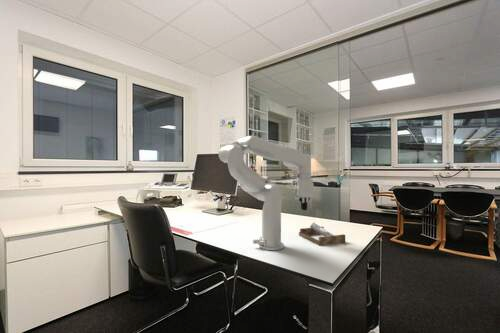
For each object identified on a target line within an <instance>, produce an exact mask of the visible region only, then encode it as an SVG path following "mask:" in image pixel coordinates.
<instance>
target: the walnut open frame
mask: <svg viewBox="0 0 500 333" xmlns="http://www.w3.org/2000/svg"><path fill="white" fill-rule="evenodd" d="M321 227H322V228H324V229H325V227H324V226H321ZM313 235H314V236H315V235H321V234H320V233H319V232H317V231H315V230H314V229H312V228H311V227H303V228H302V227H301V228H299V232H298V236H299V237H301V238H303V239H304V240H307V241H308V242H311V243H313V244H315V245H317V246H327V245H335V244H343V243H344V244H345V243H346V234H344V233H343V234H333V236H319V237H318V239H317V238H314V237H313Z"/></svg>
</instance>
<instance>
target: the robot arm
mask: <svg viewBox="0 0 500 333" xmlns="http://www.w3.org/2000/svg"><path fill="white" fill-rule="evenodd" d="M246 154H247V155H248V154H253V155H256V156H259V157H260V158H264V159H266V160H269V161H278V162H282V163H283V165H284V166H285V167H286V168H296V174H295V175H294V176H295V178H296V179H295V183H294V199H295V200H298V201H299V203H300V209H301V211H307V210H308V203H309V201H310V200H312V199H314V196H315V186H314V181H313V179H312V156H311V154H308V153H304V152H301V151H300V150H297V149H295V148H292V147H289V146H285V145H281V144H276V143H274V142H271V141H268V140H266V139H264V138H261V137H258V136H256V135H248V136H244V137H242V138H239V139H238V140H235V141H233V142H231V143H229V144H227V145H224V146H222V147H221V148H220V149H219V151H218V158H219V160H220V161H221V162H223V163H224V164H227V168H228V172H229V173H230V176H231V177H232V178H233V179H235V180H236V181H237V182H238V183H239V187H240V188H241V189H242V190H243V191H244V192H245V193H248V195H250V196H252V197H254V198H255V199H257V200H258V201H262V202H263V206H262V210H261V211H262V212H261V221H262V222H261V230H262V231H261V236H260V238H258V239H253V240H252V244H254V245H258V247H259V248H260V249H262V250H265V251H279V250H282V249H284V248H285V243H284V242H282V203H283V202H282V201H283V199H284V197H283V196H284V192H283V190H282V188H281V187H280V185H278V184H275V183H266V180H265V178H264V177H263V175H261V174H259V172H257V171H255V170H254V169H252V168H251V167H249V165H248V164H246V162H245V159H244V158H245V155H246Z"/></svg>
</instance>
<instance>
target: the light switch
mask: <svg viewBox="0 0 500 333" xmlns="http://www.w3.org/2000/svg"><path fill="white" fill-rule="evenodd" d="M322 227H323V226H320V225H318V224H317V223H315V222H312V223H311V224H310V226H309V228H312V229H314V230H315V231H317V232H319V233H320V234H319V235H321V236H322V237H324V236H333V235H334V234H333V233H331V232H329V231H328V230H327V229H326V228H325V227H324V228H322Z"/></svg>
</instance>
